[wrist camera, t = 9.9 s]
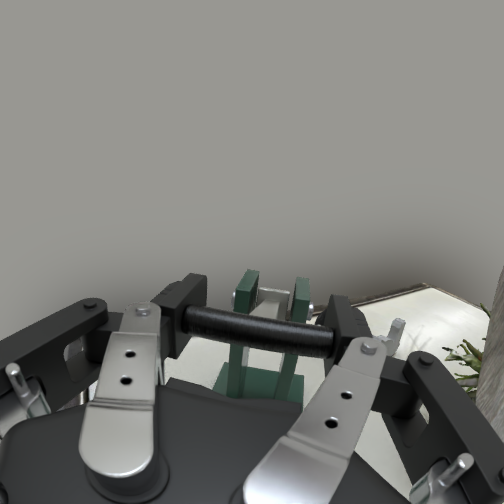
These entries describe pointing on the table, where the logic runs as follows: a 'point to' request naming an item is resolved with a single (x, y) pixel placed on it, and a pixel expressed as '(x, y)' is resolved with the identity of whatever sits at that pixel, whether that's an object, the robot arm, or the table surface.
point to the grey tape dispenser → (392, 336)
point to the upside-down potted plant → (487, 365)
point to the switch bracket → (236, 371)
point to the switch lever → (260, 327)
